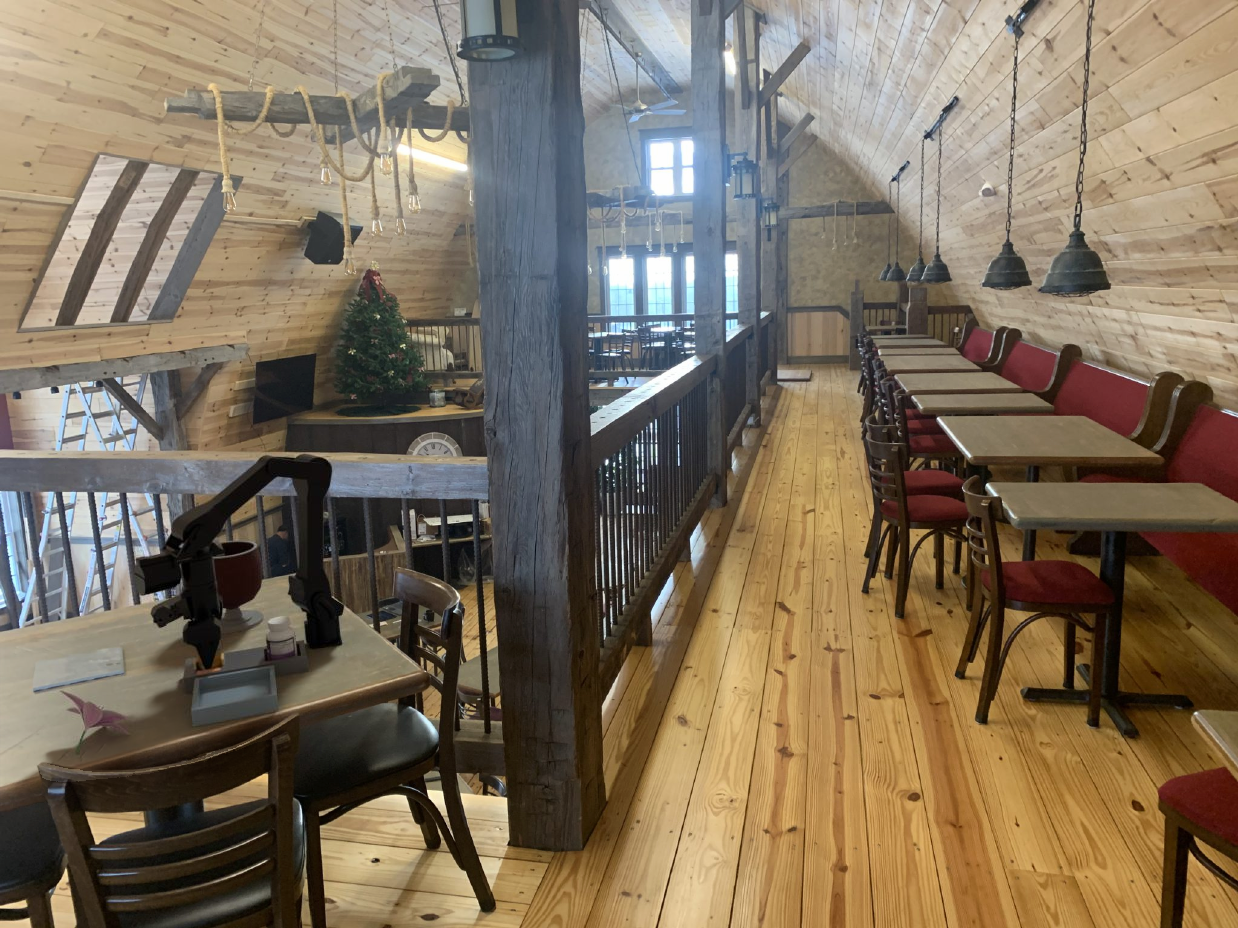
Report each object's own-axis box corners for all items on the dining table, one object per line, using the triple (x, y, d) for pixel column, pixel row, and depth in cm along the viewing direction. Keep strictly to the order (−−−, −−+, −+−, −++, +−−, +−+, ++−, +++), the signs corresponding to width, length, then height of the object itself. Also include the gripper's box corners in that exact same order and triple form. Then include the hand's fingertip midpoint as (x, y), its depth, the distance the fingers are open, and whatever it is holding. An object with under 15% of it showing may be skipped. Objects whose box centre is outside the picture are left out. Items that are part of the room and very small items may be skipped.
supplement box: (207, 684, 167) (201, 634, 165) (199, 679, 169) (192, 630, 167) (225, 678, 169) (218, 629, 167) (216, 673, 172) (210, 625, 170)
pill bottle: (273, 661, 177) (268, 615, 175) (301, 660, 177) (296, 614, 175) (265, 673, 171) (260, 625, 169) (294, 671, 172) (289, 624, 170)
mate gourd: (279, 620, 198) (270, 534, 194) (218, 639, 188) (207, 549, 184) (245, 605, 208) (236, 522, 204) (185, 622, 198) (174, 536, 194)
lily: (135, 757, 144) (148, 696, 147) (53, 754, 136) (68, 690, 139) (114, 753, 152) (127, 696, 155) (35, 751, 145) (50, 690, 148)
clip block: (305, 653, 180) (303, 634, 179) (308, 671, 172) (306, 651, 171) (187, 673, 172) (185, 653, 171) (185, 693, 164) (182, 672, 163)
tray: (275, 679, 168) (274, 664, 168) (278, 710, 156) (276, 694, 156) (196, 693, 163) (194, 678, 163) (193, 726, 151) (191, 710, 150)
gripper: (155, 572, 171) (165, 648, 174) (145, 604, 154) (157, 687, 157) (218, 564, 175) (227, 638, 178) (216, 594, 158) (225, 675, 161)
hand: (208, 659), depth 169 cm, fingers open, 9 cm apart
